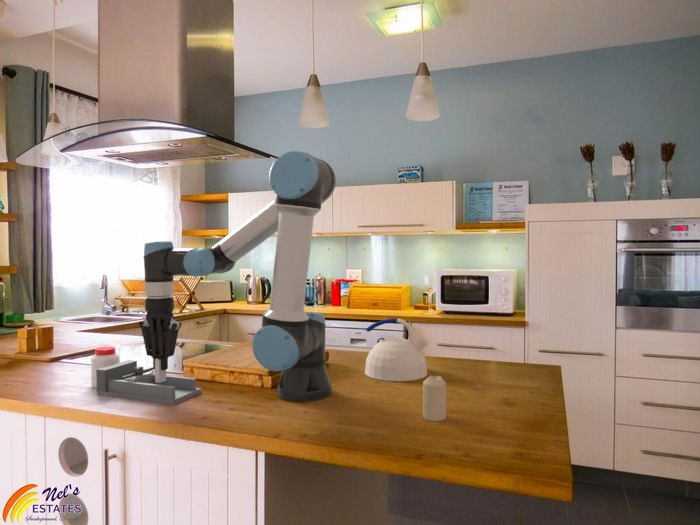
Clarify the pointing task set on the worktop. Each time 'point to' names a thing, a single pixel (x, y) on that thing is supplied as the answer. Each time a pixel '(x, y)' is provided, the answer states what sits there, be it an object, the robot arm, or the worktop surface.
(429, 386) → the white shouldered cylinder
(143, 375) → the slider
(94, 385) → the pill bottle
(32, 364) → the worktop surface
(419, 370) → the kettle
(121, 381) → the gauge bed
